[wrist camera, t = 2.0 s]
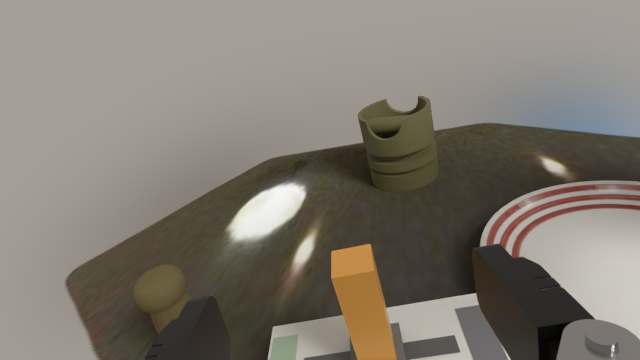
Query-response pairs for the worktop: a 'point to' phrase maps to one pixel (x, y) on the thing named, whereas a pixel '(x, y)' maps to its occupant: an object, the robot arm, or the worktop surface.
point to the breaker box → (416, 330)
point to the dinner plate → (580, 243)
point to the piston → (399, 145)
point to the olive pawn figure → (161, 294)
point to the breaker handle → (364, 306)
